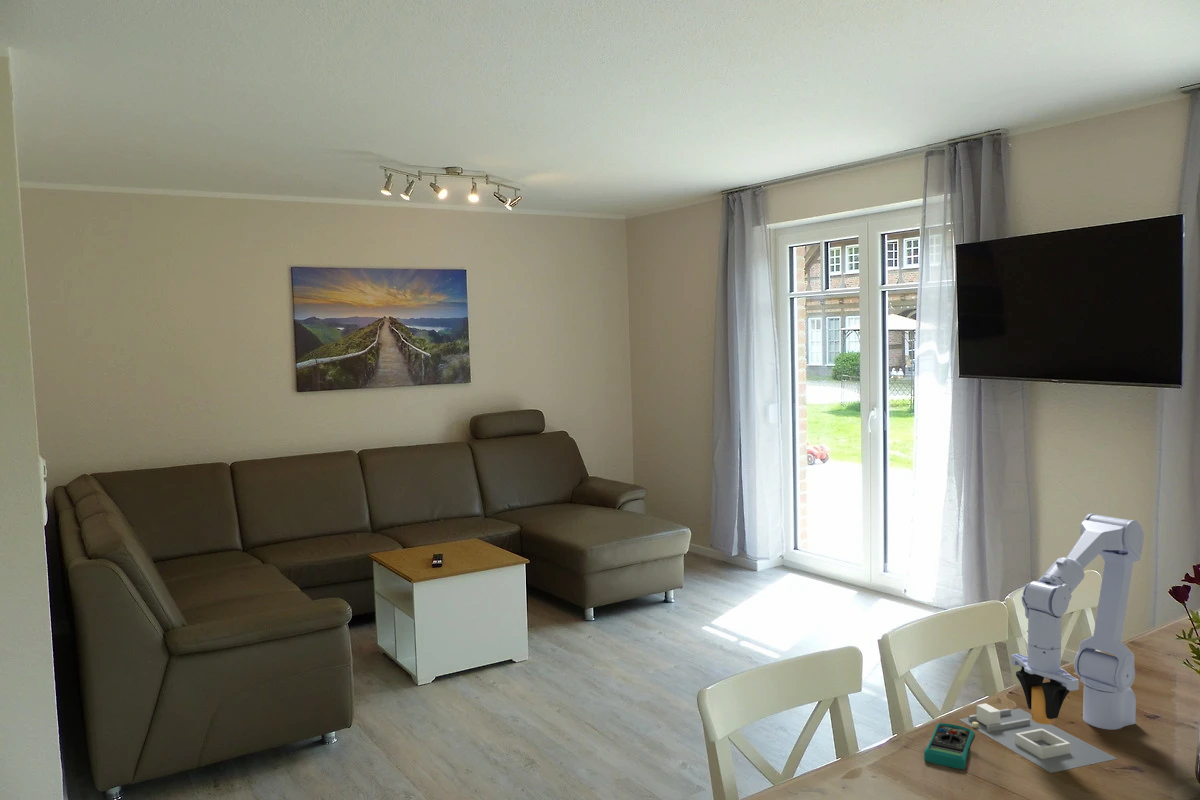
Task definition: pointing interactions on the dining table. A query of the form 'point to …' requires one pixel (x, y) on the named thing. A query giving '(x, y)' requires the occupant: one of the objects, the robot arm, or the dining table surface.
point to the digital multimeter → (949, 746)
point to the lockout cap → (1039, 706)
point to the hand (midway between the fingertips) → (1042, 712)
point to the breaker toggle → (987, 714)
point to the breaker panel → (1039, 741)
